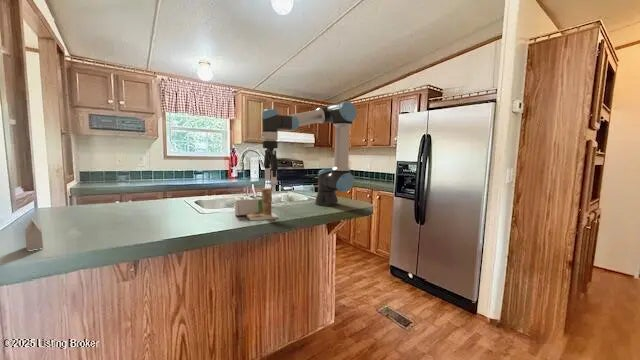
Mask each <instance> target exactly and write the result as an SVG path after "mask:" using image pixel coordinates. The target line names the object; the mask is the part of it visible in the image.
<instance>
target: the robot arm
mask: <svg viewBox="0 0 640 360" xmlns="http://www.w3.org/2000/svg"><path fill="white" fill-rule="evenodd" d="M357 115H358V114H357V108H356V106H355V104H354V103H352V102H351V101H340V102H337V103H331V104H328V105H326V106H322V107H318V108H316V109H314V110H311V111H310V110H309V111H305V112H304V111H303V112H300V113H299V112H298V113H293V114H287V115H286V114H279V113H278V110H277V109H272V108H269V109H264V110H262V117H261V119H262V123H261V124H262V133H261V136H262V140H263V141H262V149H264V159H263V167H264V181H268V182H269V181H270V184H271V185H273V184H275V185H276V184H277V183H278V179H277V178H278V172H277V171H278V170H279V165H278V159H277V158H278V156H277V149H278V148H279V146H278V145H279V142H278V139H279V136H278V135H279V134H278V132H280V131H297V130H298V128H299V127H302V126H303V127H304V126H307V125H313V124H317V123H318V124H328V123H329V124H331V123H332V125H333V127H335V129H334V130H335V131H334V136H335V137H334V166H333V167H332V168H330V169H329V168H328V169H321V170H319V171H318V175H317V176H318V177H317V179H318V180H317V181H318V182H317V187H318V188H317V194H316V197H315V201H314V203H315V205H317V206H323V207H330V206H331V207H332V206H337V204H339V200H338V196H337V193H336V192H340V193H341V192H342V193H345V192H348V191H349V192H350V190H351V189H352V188H353V186H354V183H355V178H354V176H353V174H352V173H351V168H350V167H349V155H350V154H349V151H350V128H351V127H352V126H353V122H354V120H355V119H356V118H357Z"/></svg>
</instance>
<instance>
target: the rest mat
mask: <svg viewBox="0 0 640 360" xmlns="http://www.w3.org/2000/svg"><path fill="white" fill-rule="evenodd" d="M271 214H272V216H271V217H257V218H248V220H249V221H252V222H253V221H264V220H276V219H278V217H279V216H278V215H277V214H276V213H274V212H271Z"/></svg>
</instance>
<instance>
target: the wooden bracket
mask: <svg viewBox="0 0 640 360" xmlns="http://www.w3.org/2000/svg"><path fill="white" fill-rule="evenodd" d="M261 199H262V213H247V214H246V215H245V216H246V217H247V219H249V218H257V217H271V216H272V214H271V213H272V188H270V187H269V188H268V187H266V188H265V187H263V188H261Z"/></svg>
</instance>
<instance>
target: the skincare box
mask: <svg viewBox="0 0 640 360" xmlns="http://www.w3.org/2000/svg"><path fill="white" fill-rule="evenodd" d="M247 213H262V198H251V199H247V198H245V199H235V200H234V214H235V216H246V214H247Z"/></svg>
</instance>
